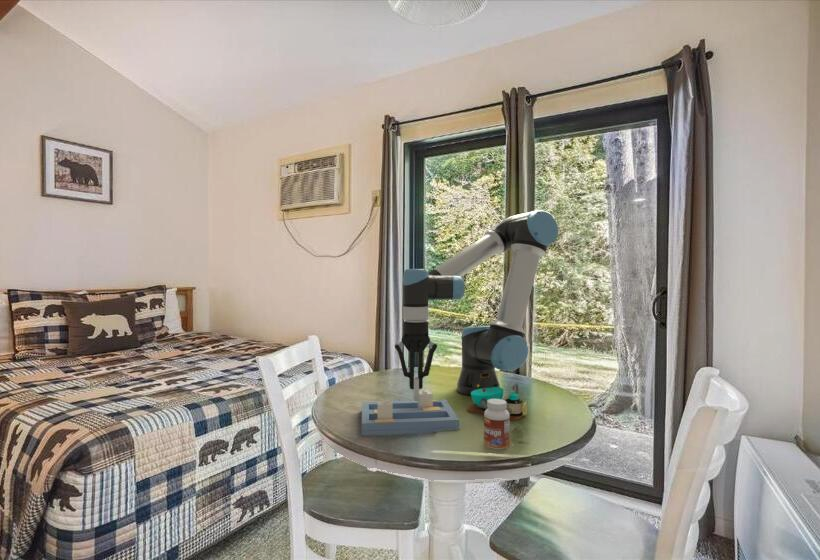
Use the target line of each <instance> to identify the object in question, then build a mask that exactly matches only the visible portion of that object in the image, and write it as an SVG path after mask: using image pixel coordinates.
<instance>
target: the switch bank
mask: <svg viewBox="0 0 820 560" xmlns="http://www.w3.org/2000/svg"><path fill="white" fill-rule="evenodd" d="M392 404H393V419H377V401H362V403H361V436H362V435H379V436H395V435H396V436H398V435H419V434H420V435H421V434H422V435H423V434H436V433H437V432H438V431H440V432H442V431H458V430H461V429H460V418H459V417H458V415H457V414H456V412H455V411H454V409H453V408H452V406H451V405H450V404H449V402H448V400H447V399H445V398H444V399H435V398H434V399H433V407H422V408H418V401H414V400H392ZM392 434H393V435H392Z"/></svg>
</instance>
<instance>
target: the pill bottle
mask: <svg viewBox="0 0 820 560" xmlns="http://www.w3.org/2000/svg"><path fill="white" fill-rule="evenodd" d="M505 400H506V399H503V398H502V399H489V400H487V407H488V409H486V410H485V412H484V415H483V445H484V446H486V447H487V448H490V449H496V450H502V449H508V448H509V447H510V438H511V437H510V433H511V432H510V427H511V426H510V424H511V423H510V421H511V420H510V414H509V412H508V411H507V410H506V408H507V402H506V401H505Z"/></svg>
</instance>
